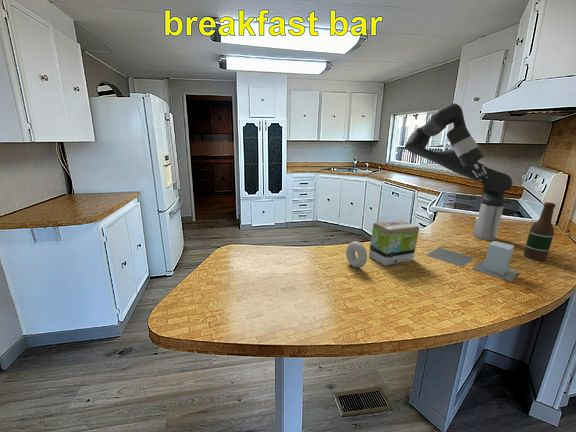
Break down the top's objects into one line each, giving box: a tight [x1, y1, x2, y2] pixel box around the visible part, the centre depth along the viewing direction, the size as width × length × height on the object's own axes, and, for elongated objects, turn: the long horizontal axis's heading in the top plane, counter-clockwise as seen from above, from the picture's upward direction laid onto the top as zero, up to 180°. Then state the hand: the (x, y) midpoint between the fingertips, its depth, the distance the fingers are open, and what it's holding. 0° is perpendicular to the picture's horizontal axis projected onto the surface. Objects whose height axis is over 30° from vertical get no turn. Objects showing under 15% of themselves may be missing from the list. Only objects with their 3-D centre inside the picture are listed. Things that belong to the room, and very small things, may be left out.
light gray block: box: [483, 240, 515, 275], centre depth 106 cm, size 6×6×10 cm
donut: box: [345, 240, 368, 269], centre depth 106 cm, size 10×4×10 cm, turn 26°
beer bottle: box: [523, 201, 556, 262], centre depth 119 cm, size 8×8×24 cm
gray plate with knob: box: [472, 260, 520, 283], centre depth 107 cm, size 12×12×4 cm
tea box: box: [368, 219, 420, 267], centre depth 114 cm, size 15×10×15 cm, turn 115°
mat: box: [425, 247, 474, 268], centre depth 119 cm, size 14×14×1 cm
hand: (489, 188), depth 108 cm, fingers open, 8 cm apart
